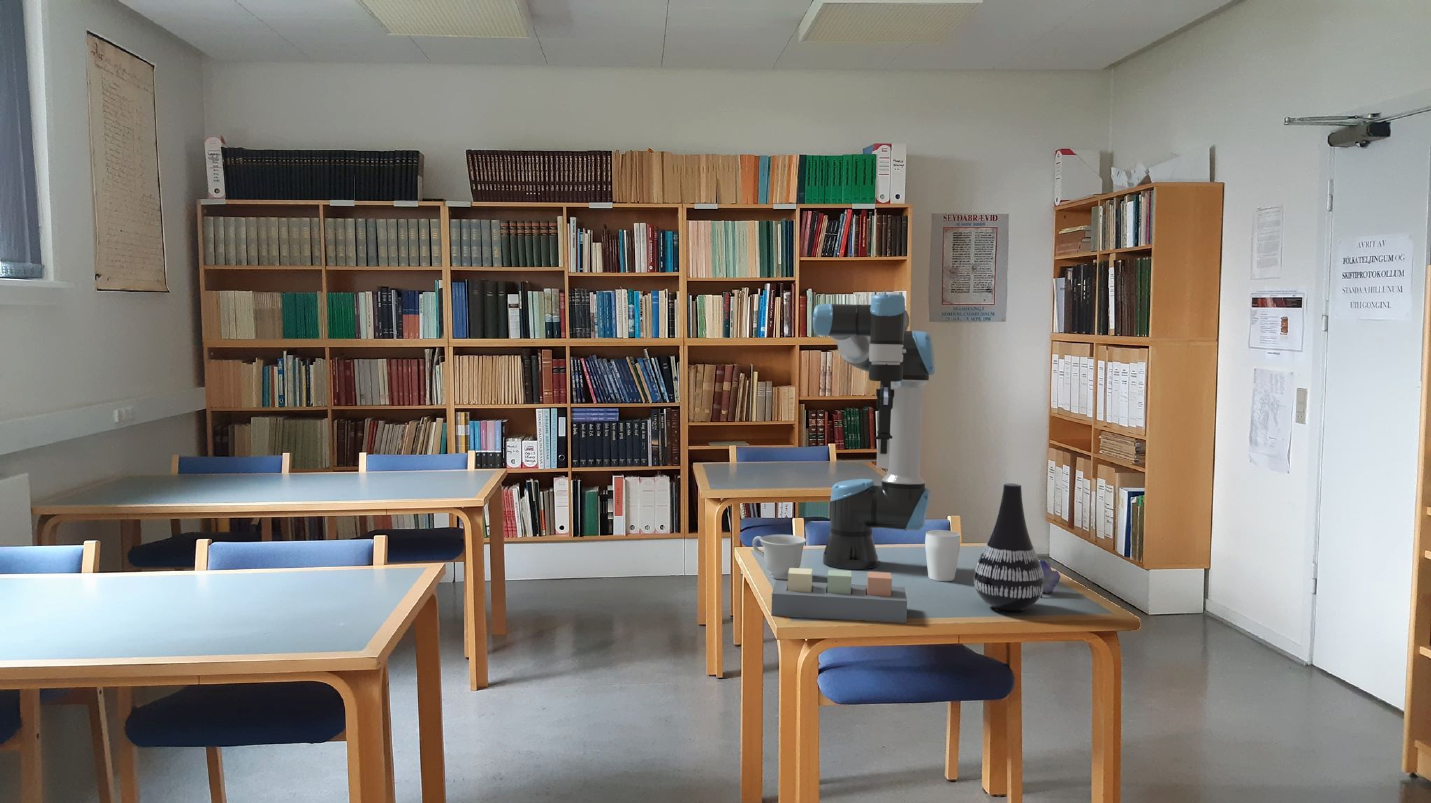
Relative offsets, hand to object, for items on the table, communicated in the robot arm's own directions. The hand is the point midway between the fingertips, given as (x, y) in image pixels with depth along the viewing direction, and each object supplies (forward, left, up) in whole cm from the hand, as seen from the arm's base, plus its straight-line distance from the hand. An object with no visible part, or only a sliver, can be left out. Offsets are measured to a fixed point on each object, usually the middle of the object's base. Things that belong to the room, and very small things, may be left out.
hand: (882, 467), depth 222 cm
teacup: (-38, +9, -34) cm, 52 cm away
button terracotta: (0, 0, -31) cm, 31 cm away
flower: (+16, +46, -34) cm, 60 cm away
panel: (-7, -5, -34) cm, 35 cm away
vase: (+18, +27, -34) cm, 47 cm away
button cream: (-15, -11, -31) cm, 36 cm away
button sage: (-7, -5, -31) cm, 32 cm away
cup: (-8, +40, -34) cm, 53 cm away
